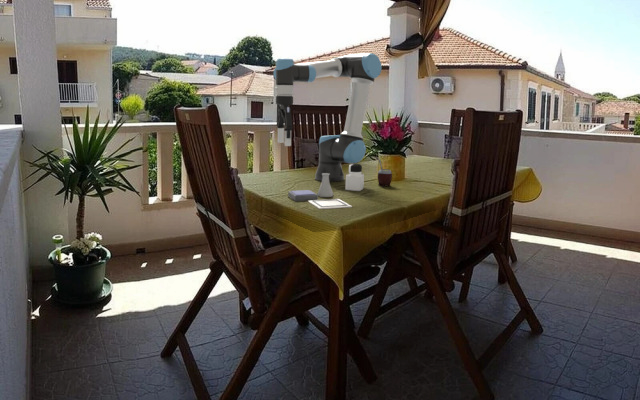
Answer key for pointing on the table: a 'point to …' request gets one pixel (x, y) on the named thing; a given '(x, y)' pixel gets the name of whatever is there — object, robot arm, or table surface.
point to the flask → (325, 187)
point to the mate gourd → (384, 176)
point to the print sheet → (329, 204)
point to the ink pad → (302, 195)
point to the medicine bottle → (355, 178)
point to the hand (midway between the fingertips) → (284, 144)
